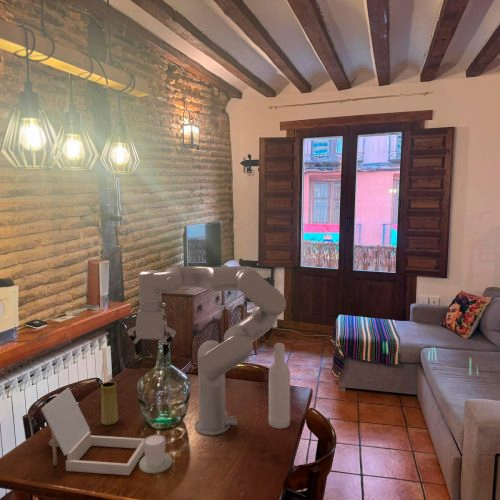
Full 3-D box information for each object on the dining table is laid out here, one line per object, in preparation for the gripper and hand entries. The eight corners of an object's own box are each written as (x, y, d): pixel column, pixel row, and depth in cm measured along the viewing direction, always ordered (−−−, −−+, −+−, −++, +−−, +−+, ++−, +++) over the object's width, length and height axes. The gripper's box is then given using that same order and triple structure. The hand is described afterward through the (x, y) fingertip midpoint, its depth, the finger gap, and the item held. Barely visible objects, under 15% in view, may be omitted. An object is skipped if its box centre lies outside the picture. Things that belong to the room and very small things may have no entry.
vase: (121, 417, 165) (119, 381, 163) (114, 425, 159) (112, 388, 157) (105, 416, 166) (104, 380, 164) (98, 424, 160) (96, 387, 158)
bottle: (279, 431, 154) (279, 349, 151) (264, 423, 160) (263, 344, 157) (294, 423, 159) (295, 344, 156) (279, 415, 165) (279, 339, 162)
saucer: (175, 455, 140) (175, 453, 140) (166, 474, 130) (166, 472, 130) (146, 453, 141) (145, 451, 141) (134, 472, 131) (134, 469, 131)
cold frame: (146, 447, 145) (144, 390, 142) (129, 475, 130) (126, 412, 128) (70, 442, 148) (67, 387, 146) (44, 469, 133) (40, 408, 131)
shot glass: (170, 457, 138) (169, 436, 137) (159, 469, 131) (158, 447, 130) (151, 453, 140) (150, 432, 139) (139, 465, 133) (138, 444, 132)
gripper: (178, 304, 153) (179, 351, 155) (130, 303, 155) (132, 349, 157) (171, 309, 145) (173, 358, 147) (122, 308, 147) (124, 357, 149)
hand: (152, 354), depth 152 cm, fingers open, 9 cm apart
